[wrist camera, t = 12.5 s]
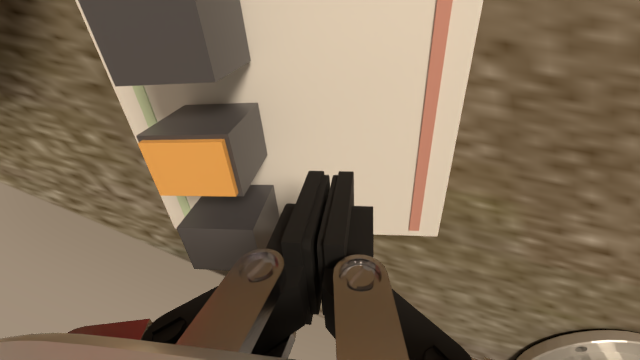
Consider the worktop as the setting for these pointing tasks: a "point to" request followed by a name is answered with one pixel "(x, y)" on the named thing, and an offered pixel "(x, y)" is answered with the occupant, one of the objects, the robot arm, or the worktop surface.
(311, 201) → the robot arm
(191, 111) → the block
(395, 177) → the breaker panel
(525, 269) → the worktop surface
